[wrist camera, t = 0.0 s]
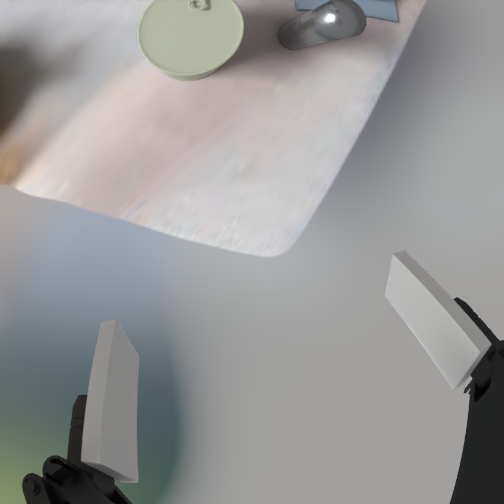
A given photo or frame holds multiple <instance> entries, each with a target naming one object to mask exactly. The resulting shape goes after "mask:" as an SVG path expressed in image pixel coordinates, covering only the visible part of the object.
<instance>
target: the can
mask: <svg viewBox="0 0 504 504" xmlns="http://www.w3.org/2000/svg"><path fill="white" fill-rule="evenodd" d="M243 35H244V18H243V15H242V12H241V10H240V8H239V6H238V5H237V4H236V2H235V1H234V0H154V1H153V2H152V3H151V4H150V5H149V6H148V7H147V8H146V10H145V11H144V13H143V14H142V16H141V18H140V21H139V24H138V29H137V40H138V45H139V48H140V50H141V52H142V54H143V56H144V57H145V58H146V59H147V61H148V62H149V63H150V64H152V65H153V66H154V67H156V68H157V69H159V70H160V71H161V72H163V73H164V74H165V75H167V76H168V77H170V78H173V79H176V80H180V81H195V80H199V79H202V78H205V77H207V76H209V75H211V74H212V73H214V72H215V71H216V70H217V69H218V68H219V67H220V66H221V65H223V64H224V63H225V62H227V61H228V60H229V59H230V58H231V57H232V56H233V55H234V54H235V52H236V51H237V49H238V48H239V46H240V44H241V42H242V39H243Z"/></svg>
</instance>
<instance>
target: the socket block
mask: <svg viewBox="0 0 504 504" xmlns="http://www.w3.org/2000/svg"><path fill="white" fill-rule="evenodd" d="M328 1H330V0H295V4H296V9H297V10H301V11H310V10H312V9H314V8H316V7H318V6H320V5H322V4H324V3H326V2H328ZM353 1H354V2H356V3H357V4H358V5H359V6H360V7H361V8H362V10H363V11H364V14H365V16H366V17H371V18H377V19H382V20H387V21H392V22H398V17H397V11H396V5H395V0H353Z"/></svg>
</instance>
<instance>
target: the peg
mask: <svg viewBox="0 0 504 504" xmlns="http://www.w3.org/2000/svg"><path fill="white" fill-rule="evenodd" d="M365 27H366V16H365V14H364V11H363V10H362V8H361V7H360V6H359V5H358V4H357V3H356V2H354V1H353V0H330V1H328V2H326V3H324V4H322V5H320V6H318V7H316V8H314V9H312V10H310V11H308V12H306V13H305V14H303V15H301V16H299V17H297V18H295V19H294V20H292V21H290V22H288V23H287V24H285V25H283V26H282V27H281V28H280V30H279V33H278V37H279V40H280V42H281V44H282V45H283V46H284V47H286V48H288V49H291V50H299V49H302V48H306V47H309V46H313V45H317V44H321V43H325V42H329V41H333V40H337V39H342V38H347V37H351V36H356V35H359V34H360V33H362V32H363V31H364V29H365Z"/></svg>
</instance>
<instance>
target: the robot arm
mask: <svg viewBox="0 0 504 504" xmlns="http://www.w3.org/2000/svg"><path fill="white" fill-rule="evenodd" d="M385 297H386V298H387V299H388V301H389V302H390V303H391V304H392V306H393V307H394V308H395V310H396V311H397V312H398V314H399V315H400V316H401V318H402V319H403V320H404V321H405V323H406V324H407V325H408V327H409V328H410V330H411V331H412V332H413V333H414V335H415V336H416V338H417V339H418V340H419V342H420V343H421V345H422V346H423V347H424V349H425V350H426V352H427V353H428V354H429V356H430V357H431V359H432V360H433V361H434V363H435V364H436V366H437V367H438V369H439V370H440V371H441V373H442V375H443V376H444V378H445V379H446V381H447V382H448V383H449V385H450V387H451V388H452V390H454V389H456V388H457V387H459V386H460V385H462V384H463V383H465V381H466V380H467V379H468V377H469V376H470V375H471V377H472V378H473V379H472V380H471V382H470V383H469V384H468V386H467V387H466V388H465V390H464V393H466V392H467V391H468V390H469V388H470V391H469V394H470V401H469V411H468V420H467V428H466V435H465V442H464V447H463V452H462V458H461V462H460V467H459V471H458V475H457V479H456V483H455V487H454V491H453V495H452V498H451V501H450V504H504V340H501V341H499V339H498V338H497V337H496V336H495V335H494V334H493V333H492V331H491V330H490V329H489V328H488V327H487V326H486V324H485V323H484V322H483V321H482V320H481V319H480V318H478V315H477V314H476V313H475V312H473V310H472V309H471V308H470V306H469V305H468V304H467V303H466V302H464V301H462V300H461V299H459V298H455V299H452V298H451V296H450V295H449V294H448V293H447V292H446V291H445V290H444V289H443V288H442V287H441V286H440V285H439V284H438V283H437V282H436V281H435V280H434V279H433V278H432V277H431V276H430V275H429V274H428V273H427V272H426V271H425V270H424V269H423V268H422V267H421V266H420V265H419V264H418V263H417V262H416V261H415V260H414V259H413V258H412V257H411V256H410V255H409V254H408V253H407V252H406V251H401V252H398V253H394V254H393V256H392V262H391V267H390V272H389V278H388V283H387V287H386V292H385ZM138 370H139V355H138V354H137V352H136V351H135V349H134V347H133V346H132V344H131V343H130V341H129V340H128V338H127V336H126V335H125V333H124V332H123V330H122V328H121V326H120V325H119V323H118V321H117V320H116V319H113V320H108V321H102V323H101V327H100V331H99V336H98V340H97V345H96V350H95V355H94V360H93V365H92V371H91V376H90V383H89V389H88V395H79V396H78V398H77V400H76V401H75V403H74V406H73V411H72V419H71V428H70V434H69V445H68V456H67V460H66V459H64V458H62V457H60V456H51V457H49V458H47V460H46V461H45V462H44V465H43V477H40V476H39V475H37V474H34V473H30V474H27V475H26V476H25V478H24V479H23V483H22V488H23V493H24V496H25V499H26V502H27V504H132V503H131V502H130V501H129V500H128V498H127V497H126V496H125V495H124V494H123V493H122V492H121V491H120V489H119V488H118V487H117V486H116V485H114V479H116V480H118V481H121V482H138V463H137V391H138Z"/></svg>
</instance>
